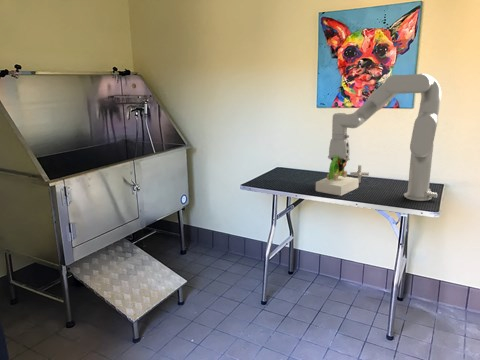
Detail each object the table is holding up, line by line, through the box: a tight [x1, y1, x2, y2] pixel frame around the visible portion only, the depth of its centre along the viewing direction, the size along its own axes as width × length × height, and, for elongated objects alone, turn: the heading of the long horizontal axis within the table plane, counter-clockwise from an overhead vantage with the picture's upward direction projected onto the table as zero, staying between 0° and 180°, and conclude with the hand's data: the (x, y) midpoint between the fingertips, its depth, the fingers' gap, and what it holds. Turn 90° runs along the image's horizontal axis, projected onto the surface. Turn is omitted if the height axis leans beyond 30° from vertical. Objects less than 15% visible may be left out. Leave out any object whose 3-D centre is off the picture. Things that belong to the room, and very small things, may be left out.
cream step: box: [315, 176, 360, 197], centre depth 216 cm, size 15×20×5 cm
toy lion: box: [326, 155, 348, 181], centre depth 214 cm, size 16×5×15 cm, turn 138°
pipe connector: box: [349, 164, 370, 184], centre depth 228 cm, size 10×10×10 cm
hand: (338, 170), depth 214 cm, fingers closed on toy lion
